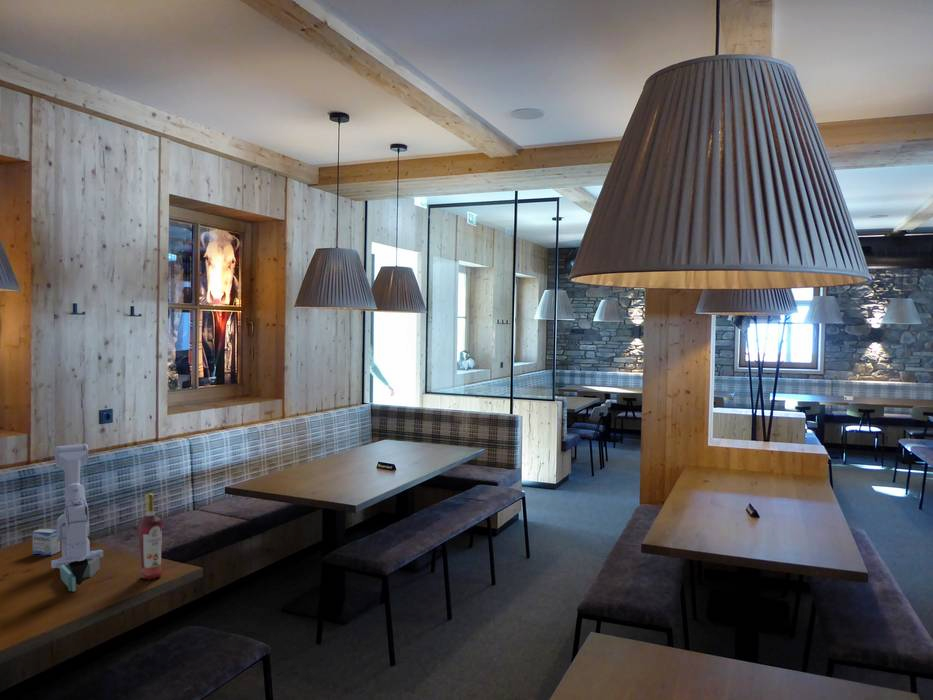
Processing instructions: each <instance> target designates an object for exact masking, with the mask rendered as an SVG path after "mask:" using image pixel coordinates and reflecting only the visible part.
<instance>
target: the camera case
mask: <svg viewBox="0 0 933 700" xmlns="http://www.w3.org/2000/svg"><path fill="white" fill-rule="evenodd" d="M100 558H101V557H96V558H92V559H88V560H87V561H88V566H87V567H86V569H85V572H84V574H83V577H82V579H86V578H87V577H90V578H92V577H93V576H94V575H95V574H96V572H97V571H98V570H99V569H100V568H101V564H100V563H101V562H100V560H101V559H100ZM65 566H66V568H67V569H68V570H69V571H70V572H71V573H72V574H73V572H72V570H71V568H70V567H69V565H68V564H66V565H65ZM100 570H101V569H100ZM100 570H99V571H100ZM99 571H98V572H99ZM98 572H97V573H98ZM73 575H74V574H73Z"/></svg>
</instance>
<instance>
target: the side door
mask: <svg viewBox="0 0 933 700" xmlns="http://www.w3.org/2000/svg"><path fill="white" fill-rule="evenodd" d="M59 574H60V575H59V576H60V577H59V578H60V579H59V580H60V581H62V582H63V583H64V584H65V586H67V589H68V590H67V591H68V592H71V593H72V592H76V591H77V588H76V586H77V584H76V578H75V576H74V575H73V574H72V573H71V572H70V571H69V570H68V569H67V568H66V566H65V565H62V566H60V568H59Z"/></svg>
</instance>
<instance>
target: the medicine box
mask: <svg viewBox="0 0 933 700" xmlns="http://www.w3.org/2000/svg"><path fill="white" fill-rule="evenodd" d="M59 551H60V552H61V541H59V540H57V529H53V528H51V529H50V528H39V529H37V530H34V531H32V555H33V554H41V555H40V556H46V555H52V554H55V553H57V552H59ZM60 552H59V553H60ZM57 554H58V553H57ZM55 555H56V554H55ZM52 556H53V555H52Z"/></svg>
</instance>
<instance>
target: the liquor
mask: <svg viewBox="0 0 933 700" xmlns="http://www.w3.org/2000/svg"><path fill="white" fill-rule="evenodd" d="M154 500H155V494H154V493H146V494H144V501H145V511H144V513H145V515H144V517H143V518H141V519H140V520H139V521H138V522H137V528H138V530H137V531H138V542H139V551H140V553H139V555H140V571H141V573H140V574H139V577H140V578H142V579H143V580H145V579H153V580H156V579H158V578H159V577H160V576H161V575H162V574H163V570H162V541H163V540H162V537H163V536H162V535H163V532H162V531H163V520H162V518H160V517H158V516H156V515H155V507H154ZM157 577H158V578H157ZM155 578H156V579H155Z"/></svg>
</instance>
